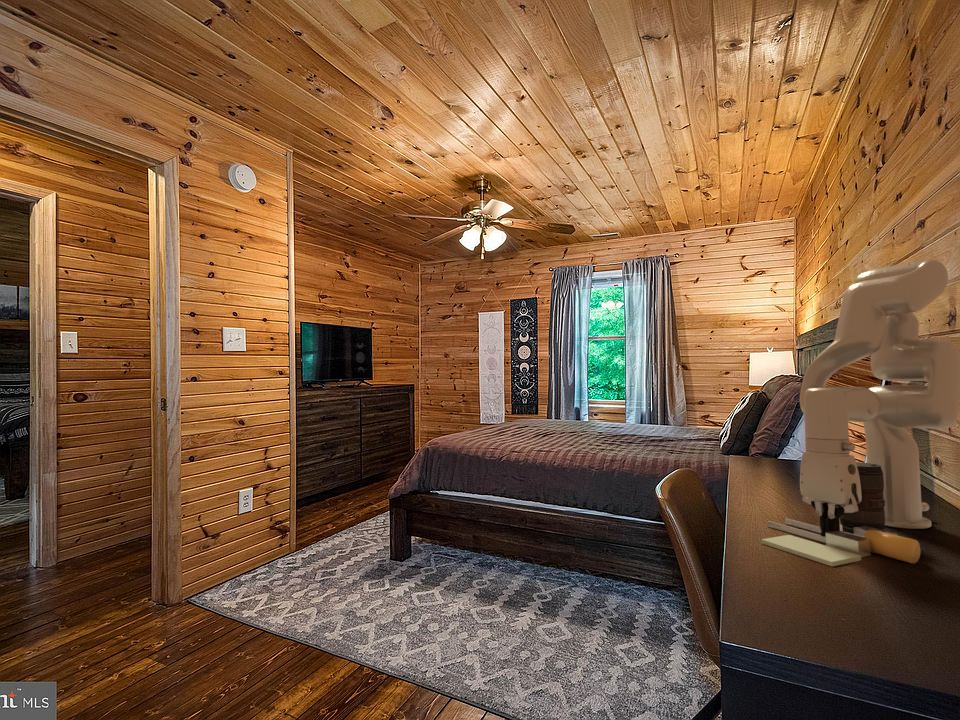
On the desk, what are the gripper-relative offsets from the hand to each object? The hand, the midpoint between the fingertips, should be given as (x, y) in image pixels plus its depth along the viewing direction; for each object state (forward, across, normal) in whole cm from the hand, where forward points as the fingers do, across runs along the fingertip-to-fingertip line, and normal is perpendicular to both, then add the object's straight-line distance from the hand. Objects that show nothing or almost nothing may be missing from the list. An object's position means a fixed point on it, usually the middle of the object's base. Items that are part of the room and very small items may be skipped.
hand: (830, 536), depth 103 cm
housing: (+1, +2, 0) cm, 2 cm away
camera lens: (+1, 0, -10) cm, 10 cm away
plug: (+1, -8, 0) cm, 8 cm away
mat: (+1, -3, +11) cm, 11 cm away
